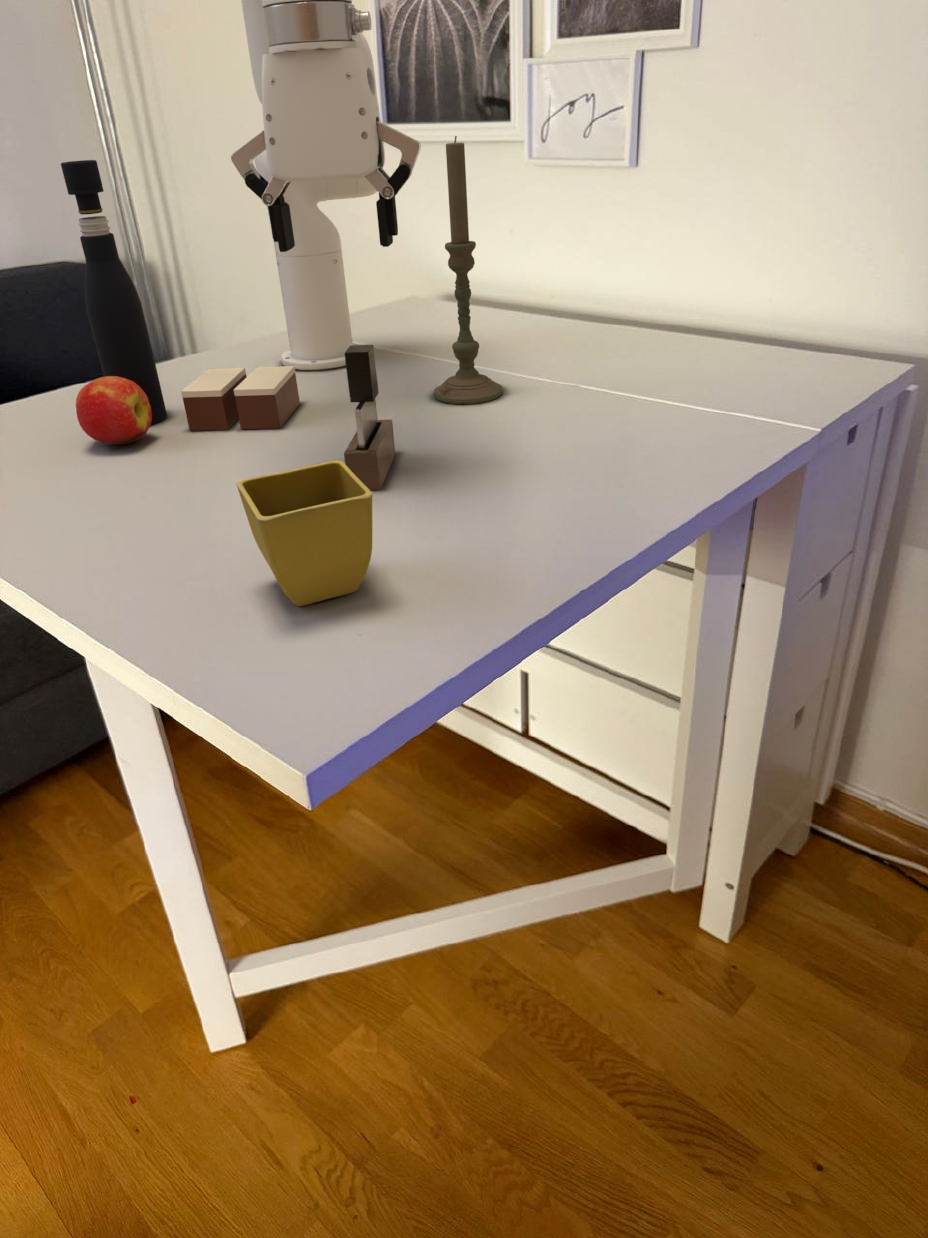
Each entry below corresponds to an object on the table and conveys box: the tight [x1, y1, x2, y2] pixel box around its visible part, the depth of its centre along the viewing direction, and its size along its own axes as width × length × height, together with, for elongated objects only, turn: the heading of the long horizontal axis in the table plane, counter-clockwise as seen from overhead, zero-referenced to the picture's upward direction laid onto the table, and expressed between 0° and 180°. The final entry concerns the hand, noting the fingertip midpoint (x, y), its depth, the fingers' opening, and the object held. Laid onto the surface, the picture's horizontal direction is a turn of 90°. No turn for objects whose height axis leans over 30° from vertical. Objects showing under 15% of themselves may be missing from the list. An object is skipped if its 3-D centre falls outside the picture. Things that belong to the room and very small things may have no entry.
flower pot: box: [235, 459, 373, 607], centre depth 71 cm, size 9×9×9 cm
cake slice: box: [234, 365, 301, 431], centre depth 114 cm, size 10×5×5 cm, turn 175°
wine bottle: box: [60, 159, 168, 426], centre depth 109 cm, size 6×6×30 cm
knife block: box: [343, 419, 396, 491], centre depth 95 cm, size 10×3×4 cm, turn 175°
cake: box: [180, 367, 247, 432], centre depth 114 cm, size 10×5×5 cm, turn 175°
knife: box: [345, 344, 379, 450], centre depth 93 cm, size 8×2×13 cm, turn 175°
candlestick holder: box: [433, 135, 504, 405], centre depth 111 cm, size 9×9×30 cm
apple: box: [75, 376, 152, 446], centre depth 107 cm, size 8×8×8 cm
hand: (337, 247), depth 85 cm, fingers open, 9 cm apart
